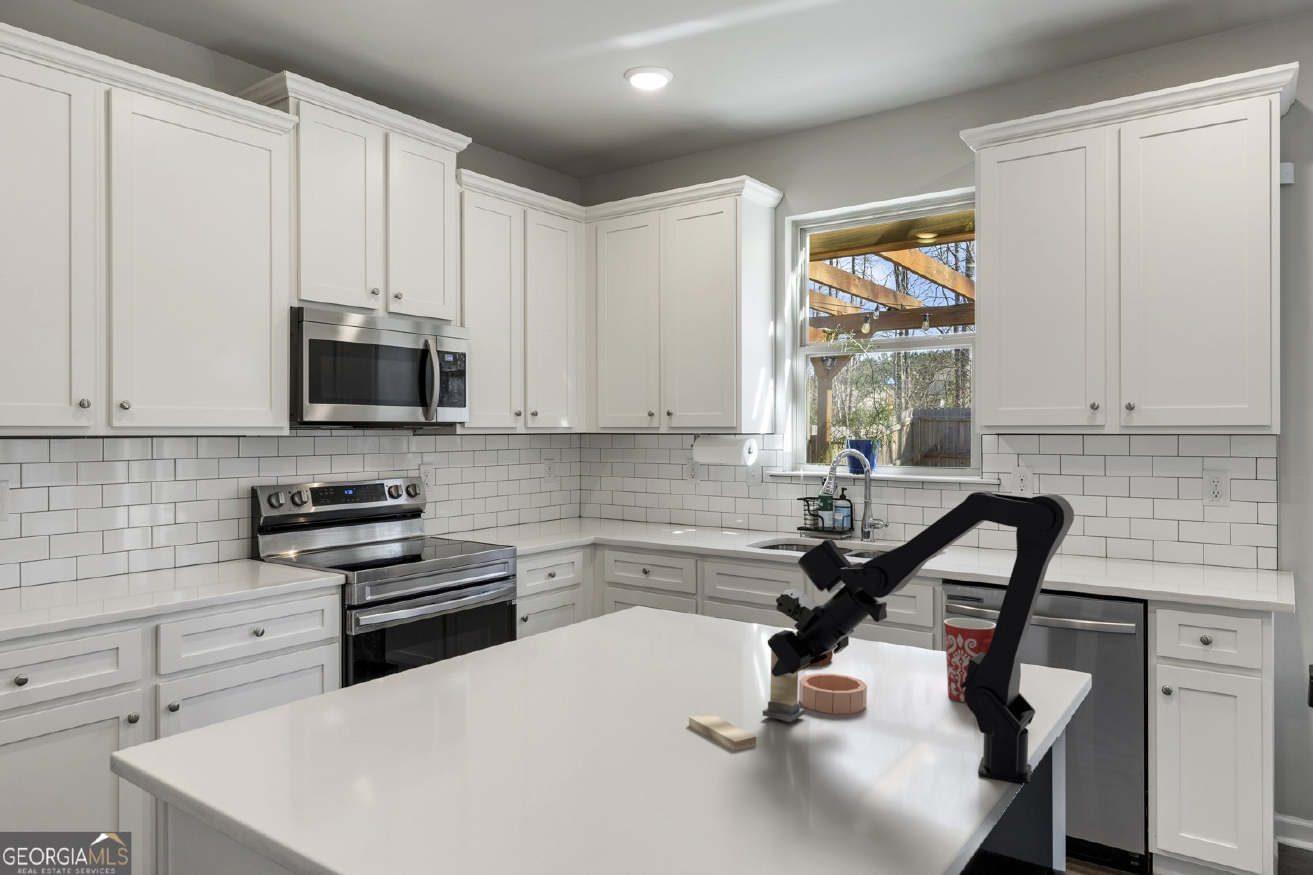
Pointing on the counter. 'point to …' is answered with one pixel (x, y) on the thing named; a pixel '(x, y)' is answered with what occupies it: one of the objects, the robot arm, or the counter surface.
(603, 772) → the counter surface
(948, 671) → the mug
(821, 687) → the bowl
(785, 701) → the wooden pillar
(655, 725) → the counter surface
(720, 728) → the light wooden flat block
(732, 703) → the counter surface
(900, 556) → the robot arm
